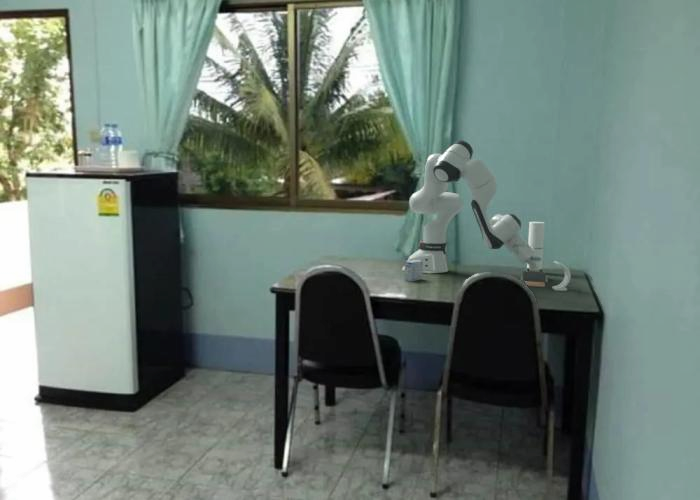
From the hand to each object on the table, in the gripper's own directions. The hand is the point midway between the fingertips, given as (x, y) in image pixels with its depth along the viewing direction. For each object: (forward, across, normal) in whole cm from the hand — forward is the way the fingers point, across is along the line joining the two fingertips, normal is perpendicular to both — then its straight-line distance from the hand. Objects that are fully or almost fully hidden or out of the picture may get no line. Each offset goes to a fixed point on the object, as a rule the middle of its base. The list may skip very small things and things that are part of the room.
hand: (536, 266), depth 285 cm
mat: (+5, -12, +4) cm, 14 cm away
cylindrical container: (+2, +19, +7) cm, 20 cm away
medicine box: (-31, -28, +40) cm, 58 cm away
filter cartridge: (+4, 0, +5) cm, 6 cm away
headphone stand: (+14, -17, -5) cm, 23 cm away
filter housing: (+4, 0, +5) cm, 6 cm away
